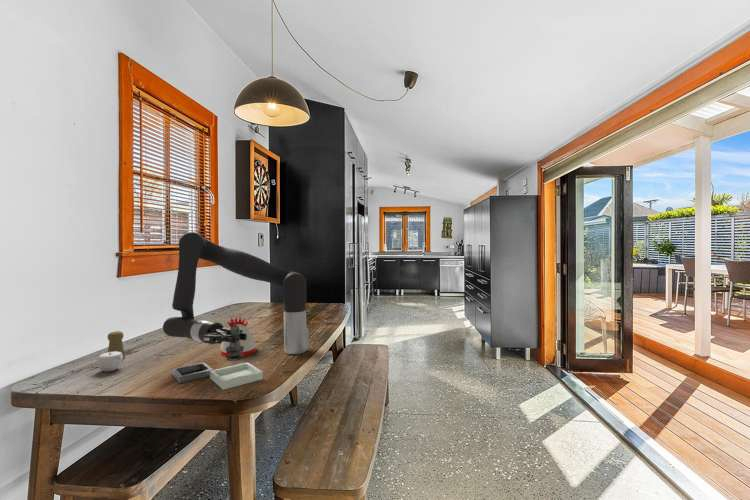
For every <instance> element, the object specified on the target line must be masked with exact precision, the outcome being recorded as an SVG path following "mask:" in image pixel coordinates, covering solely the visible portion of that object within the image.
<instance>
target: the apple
mask: <svg viewBox="0 0 750 500" xmlns="http://www.w3.org/2000/svg"><path fill="white" fill-rule="evenodd" d="M123 360H124V359H123V354H122V353H121V352H117V351H114V352H108V351H107V352H104V353H101V354H100V355H98V357H97V359H96V364H97V367H98V368H99V369H100V371H102V372H113V371H116V370H117V369H118V368H119V367H120V366H121V365H122V363H123Z"/></svg>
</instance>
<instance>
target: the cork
mask: <svg viewBox="0 0 750 500" xmlns="http://www.w3.org/2000/svg"><path fill="white" fill-rule="evenodd" d="M123 339H124V333H123V331H118V330H117V331H112V332H110V333H108V334H107V340H108V348H107V349H108V350H107V352H114V351H117V352H121V353H122V354H123V360H125V359H126V355H125V348H124V343H123Z"/></svg>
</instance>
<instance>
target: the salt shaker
mask: <svg viewBox="0 0 750 500" xmlns="http://www.w3.org/2000/svg"><path fill="white" fill-rule="evenodd" d="M229 329H230V335H232V336H236V339H237V342H236V343H230V345H229V347H227V348H226V352H227V354H228V355H229V357H226V361H229V362H237V361H241V360H242V359H244V356H241V355H240V354H241V353H242V352H243V348H244V346H241V345H240V337H241V336H240V335H239V327H238V326H236V324H234V326H232V327H230V328H229Z"/></svg>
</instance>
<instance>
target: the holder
mask: <svg viewBox="0 0 750 500" xmlns="http://www.w3.org/2000/svg"><path fill="white" fill-rule="evenodd" d="M197 370H198V371H197ZM200 370H201V371H200ZM212 370H214V369H213V368H212V367H211V366H210V365H208V364H207V363H206V362H199V363H194V364H188V365H184V366H179V367H176V368H175V367H174V368H172V369H171V371H172V372H171V374H172V377H174V379H176V381H177V382H178V383H179V384H182V383H186V382H190V381H194V380H199V379H202V378H203V379H204V378H208V377H210V371H212ZM190 372H192V373H190ZM186 373H187V374H186ZM182 374H184V375H182Z"/></svg>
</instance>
